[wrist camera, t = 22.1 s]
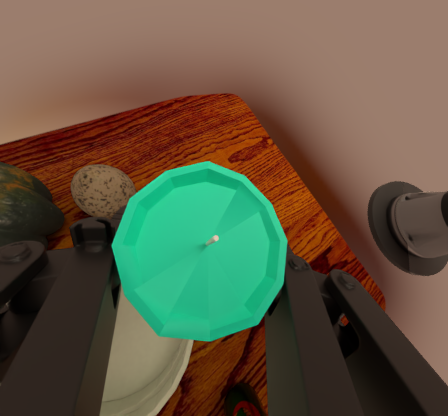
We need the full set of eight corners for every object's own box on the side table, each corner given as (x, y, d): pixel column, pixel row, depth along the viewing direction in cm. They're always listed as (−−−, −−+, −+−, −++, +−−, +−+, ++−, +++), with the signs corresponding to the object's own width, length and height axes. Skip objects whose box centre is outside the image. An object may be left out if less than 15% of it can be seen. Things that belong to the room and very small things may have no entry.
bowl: (206, 266, 29) (211, 268, 24) (168, 417, 23) (163, 463, 18) (82, 236, 27) (58, 231, 21) (5, 396, 21) (-55, 442, 16)
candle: (161, 219, 16) (101, 127, 5) (226, 219, 17) (301, 146, 6) (158, 291, 15) (57, 409, 3) (229, 285, 16) (339, 357, 4)
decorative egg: (98, 229, 27) (51, 215, 18) (89, 187, 29) (41, 153, 19) (146, 216, 29) (128, 197, 20) (136, 177, 31) (114, 141, 21)
